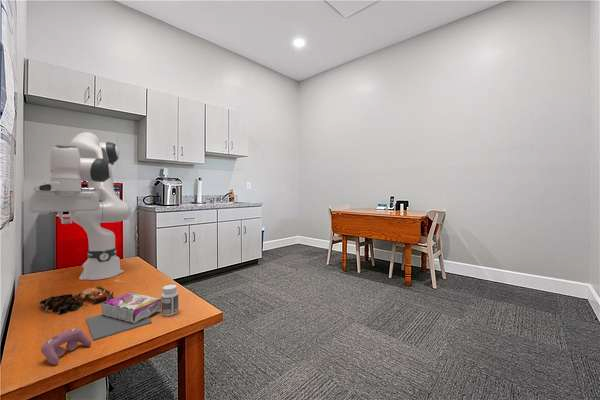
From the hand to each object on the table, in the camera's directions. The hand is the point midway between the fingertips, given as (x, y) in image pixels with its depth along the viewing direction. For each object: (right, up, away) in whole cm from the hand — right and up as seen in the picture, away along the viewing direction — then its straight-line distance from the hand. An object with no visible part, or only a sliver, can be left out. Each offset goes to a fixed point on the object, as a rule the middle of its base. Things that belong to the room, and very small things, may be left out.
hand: (66, 223), depth 101 cm
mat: (+26, -33, -9) cm, 43 cm away
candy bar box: (+19, -30, -1) cm, 36 cm away
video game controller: (+24, -34, -27) cm, 50 cm away
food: (0, -33, +7) cm, 34 cm away
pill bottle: (+41, -33, -2) cm, 53 cm away
